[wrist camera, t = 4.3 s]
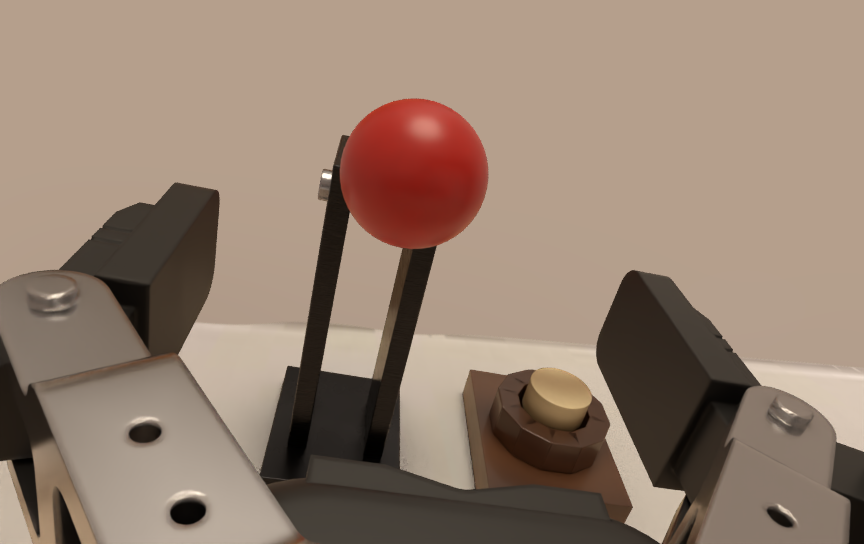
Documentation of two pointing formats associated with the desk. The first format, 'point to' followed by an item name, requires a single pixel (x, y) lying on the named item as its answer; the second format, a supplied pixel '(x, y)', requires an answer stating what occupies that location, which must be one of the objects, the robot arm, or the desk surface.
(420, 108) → the switch lever
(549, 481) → the button block
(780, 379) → the desk surface
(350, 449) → the switch bracket
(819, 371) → the desk surface
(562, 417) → the button
